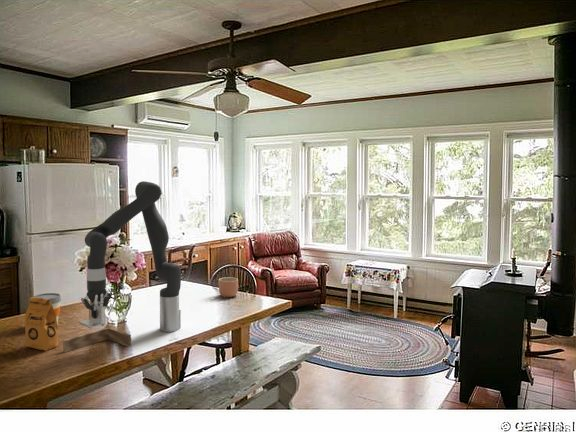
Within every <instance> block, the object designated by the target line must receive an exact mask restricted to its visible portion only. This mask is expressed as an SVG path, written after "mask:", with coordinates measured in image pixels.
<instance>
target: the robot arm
mask: <svg viewBox="0 0 576 432" xmlns="http://www.w3.org/2000/svg"><path fill="white" fill-rule="evenodd" d="M134 191H135V192H134V193H135V199H134V200H133V201H131V202H129V203H128V204H126V205H124V206H123V207H121V208H119V209H117V210H116V211H114V212H113V213H112V214H111V215H110V216H108V217H107V218H106V219H105V220H104V221H103V222H101V223H100V224H99V225H96V227H94V228H93V229H91V230H90V231H89V232H88V233H87V234H86V235H85V237H84V244H85V245H86V246H87V247H89V254H88V255H87V258H86V266H87V267H86V268H87V269H86V290H87V292H86V296H84V297H82V298H80V301H81V303H82V304H83V305H84V307H85V308H86V309H87V310H88V311H89V310H91V316H92V317H93V318H94V319H96V318H97V310H96V306H97V305H100V306H103V307H105V308H106V307H107V306H108V303H109V301H110V299H111V297H112V296H113V294H112V293H110V292H107V289H106V288H107V275H106V274H107V273H106V272H107V271H106V258H105V257H106V254H107V249H108V248H107V247H108V241H107V238H108V237H110V236H112V235H113V236H114V235H115V234H117V233H118V232H119V231H120V230H121V229H122V228H123V227H124V226H125V225H127V224H128V223H129V222H130V221H131V220H132V219H134V218H135V217H137V216H138V214H140V213H141V214H142V218H143V222H144V224H145V229H146V233H147V237H148V241H149V244H150V247H151V248H150V249H151V253H152V256H153V257H152V259H153V262H154V264H153V265H154V270H155V274H156V275H155V276H156V277H157V279H158V280H160V282H166V287H163V288H161V289H160V290H159V330H160V331H161V332H165V333H172V332H176V331H179V329H181V328H182V327H181V325H182V324H181V322H182V321H181V319H182V318H181V311H182V310H181V308H180V290H181V285H182V283H181V282H182V269H181V267H180V265H179V264H177V263H172V262H168V259H167V255H166V249H167V247H168V244H169V240H170V239H169V238H170V237H169V232H168V228H167V225H166V223H165V220H164V219H163V217H162V216H161V214H160V212H159V211H158V208H157V205H156V202H158V201H159V200H160V199H161V197H162V189H161V186H160V185H158V184H157V183H154V182H151V181H144V180H141V181H140V182H138V183H137V184H136V186H135V190H134ZM89 300H90V301H89ZM89 303H90V304H91V305H90V304H89Z"/></svg>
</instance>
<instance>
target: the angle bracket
mask: <svg viewBox="0 0 576 432" xmlns="http://www.w3.org/2000/svg"><path fill="white" fill-rule="evenodd" d="M89 304H90V302H89ZM90 305H91V304H90ZM96 310H97V318H96V319H94V318H93V317H92V316H91V310H89V309H88V319H84V320H81V321H79V322H78V324H79V325H81V326H83V327H86V328H89V329H91V330H93V329H97V328H100V327H105V326H106V307H103V306H100V305H97V306H96Z"/></svg>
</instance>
